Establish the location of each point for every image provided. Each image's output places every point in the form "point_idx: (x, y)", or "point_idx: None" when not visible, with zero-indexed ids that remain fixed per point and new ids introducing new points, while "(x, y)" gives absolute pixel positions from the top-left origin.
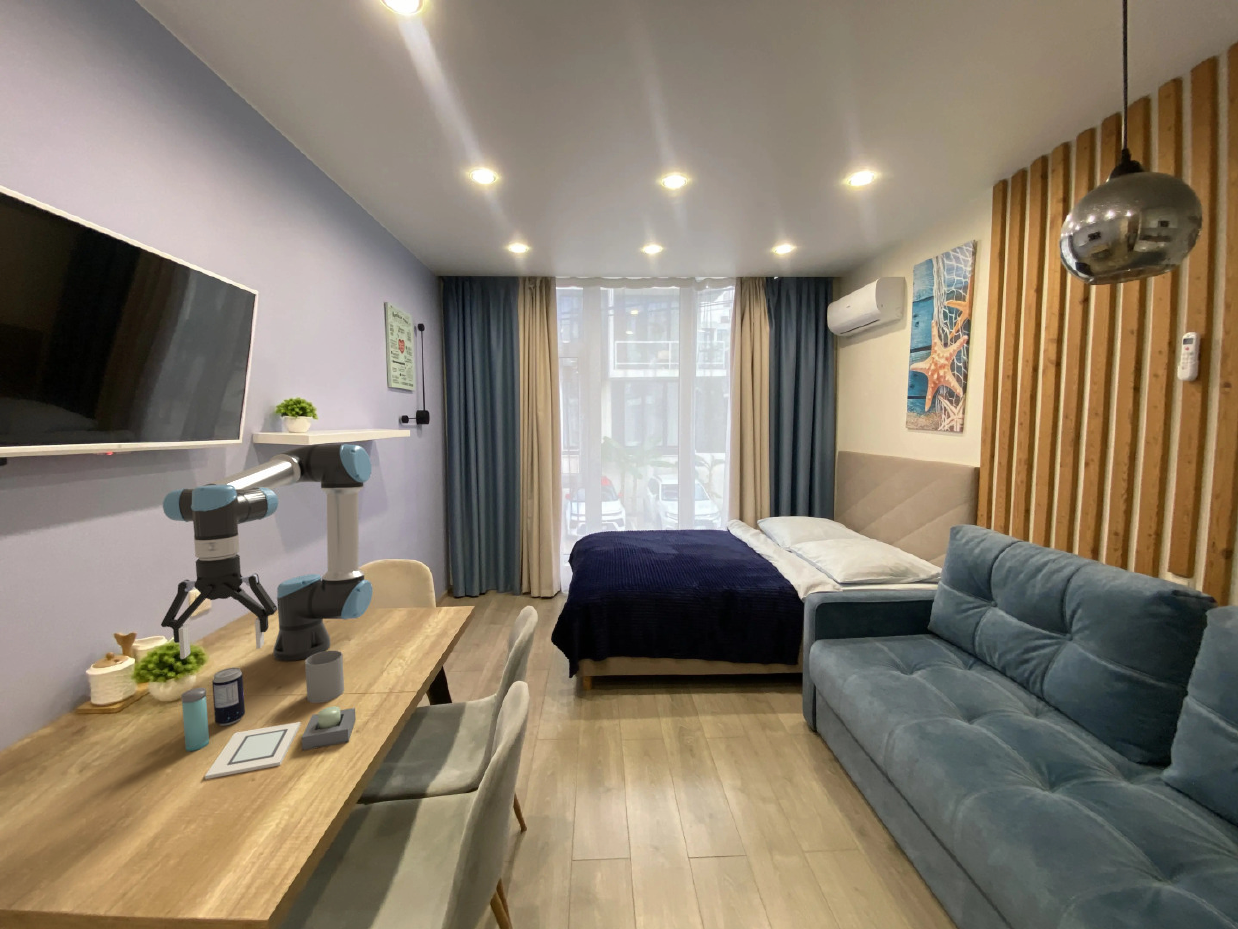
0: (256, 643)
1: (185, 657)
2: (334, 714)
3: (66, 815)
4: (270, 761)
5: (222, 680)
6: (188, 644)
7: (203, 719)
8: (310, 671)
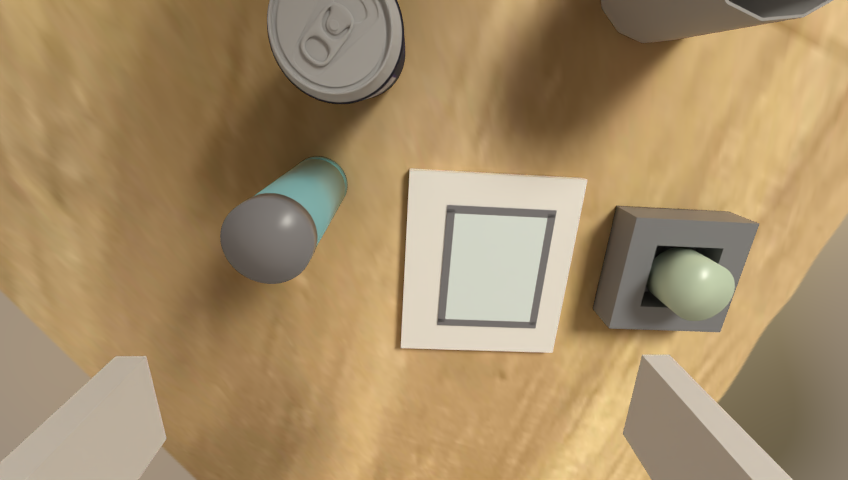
0: (648, 471)
1: (163, 434)
2: (714, 314)
3: (169, 366)
4: (531, 343)
5: (333, 98)
6: (89, 449)
7: (329, 223)
8: (696, 4)
